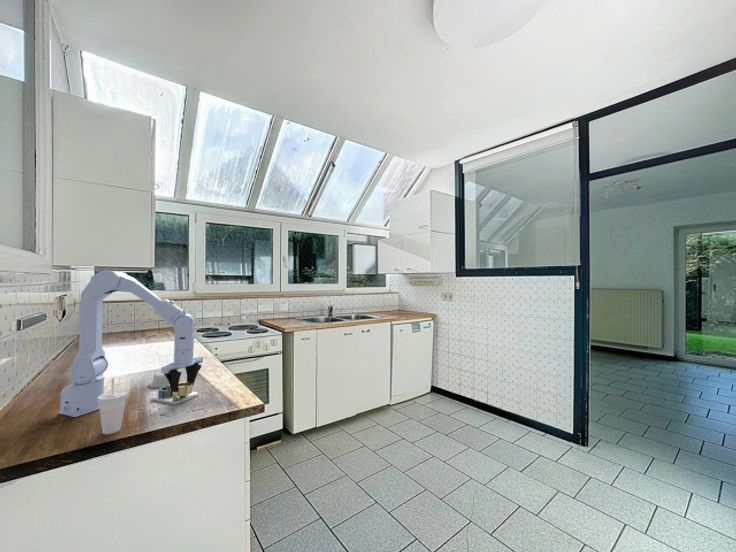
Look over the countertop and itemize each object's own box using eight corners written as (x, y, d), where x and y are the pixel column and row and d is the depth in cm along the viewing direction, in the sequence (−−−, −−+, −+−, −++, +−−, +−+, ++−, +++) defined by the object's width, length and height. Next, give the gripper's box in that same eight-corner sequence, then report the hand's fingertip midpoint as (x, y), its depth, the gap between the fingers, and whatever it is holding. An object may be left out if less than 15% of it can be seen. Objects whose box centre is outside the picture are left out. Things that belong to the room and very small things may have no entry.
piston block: (175, 405, 99) (175, 392, 99) (149, 400, 103) (150, 388, 103) (198, 395, 108) (198, 384, 108) (174, 391, 111) (174, 380, 112)
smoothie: (123, 423, 86) (125, 373, 87) (129, 430, 82) (131, 378, 83) (93, 431, 81) (95, 379, 82) (98, 439, 77) (100, 384, 78)
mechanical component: (166, 389, 114) (185, 380, 124) (167, 377, 114) (185, 370, 124) (142, 387, 115) (162, 379, 125) (142, 376, 115) (162, 368, 125)
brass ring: (181, 397, 101) (182, 387, 101) (169, 394, 103) (169, 385, 103) (195, 391, 106) (196, 382, 106) (183, 389, 108) (184, 381, 108)
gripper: (173, 354, 97) (172, 397, 96) (209, 345, 110) (208, 383, 110) (157, 352, 99) (155, 394, 98) (194, 344, 113) (193, 381, 112)
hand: (182, 388), depth 104 cm, fingers closed on brass ring, 5 cm apart
